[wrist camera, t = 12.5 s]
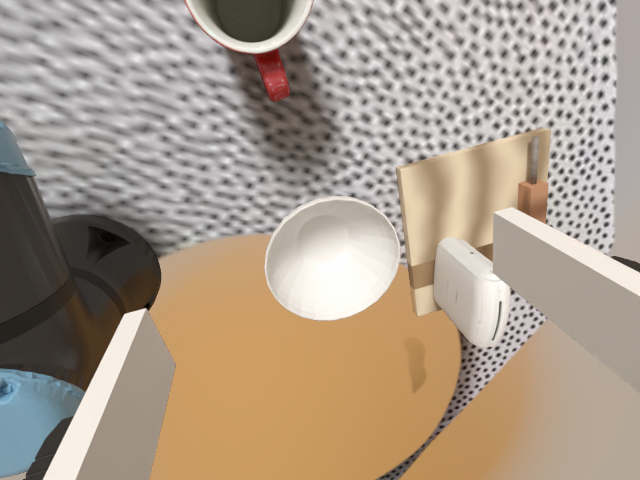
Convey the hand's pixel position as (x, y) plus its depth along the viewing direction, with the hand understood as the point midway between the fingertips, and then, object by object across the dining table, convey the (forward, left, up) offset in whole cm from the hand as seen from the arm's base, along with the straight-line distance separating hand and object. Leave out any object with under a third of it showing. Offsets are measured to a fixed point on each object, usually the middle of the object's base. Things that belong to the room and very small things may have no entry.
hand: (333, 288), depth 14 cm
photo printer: (+19, -23, -30) cm, 42 cm away
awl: (+31, -14, -30) cm, 45 cm away
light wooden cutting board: (+24, -18, -32) cm, 44 cm away
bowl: (+3, -14, -32) cm, 35 cm away
